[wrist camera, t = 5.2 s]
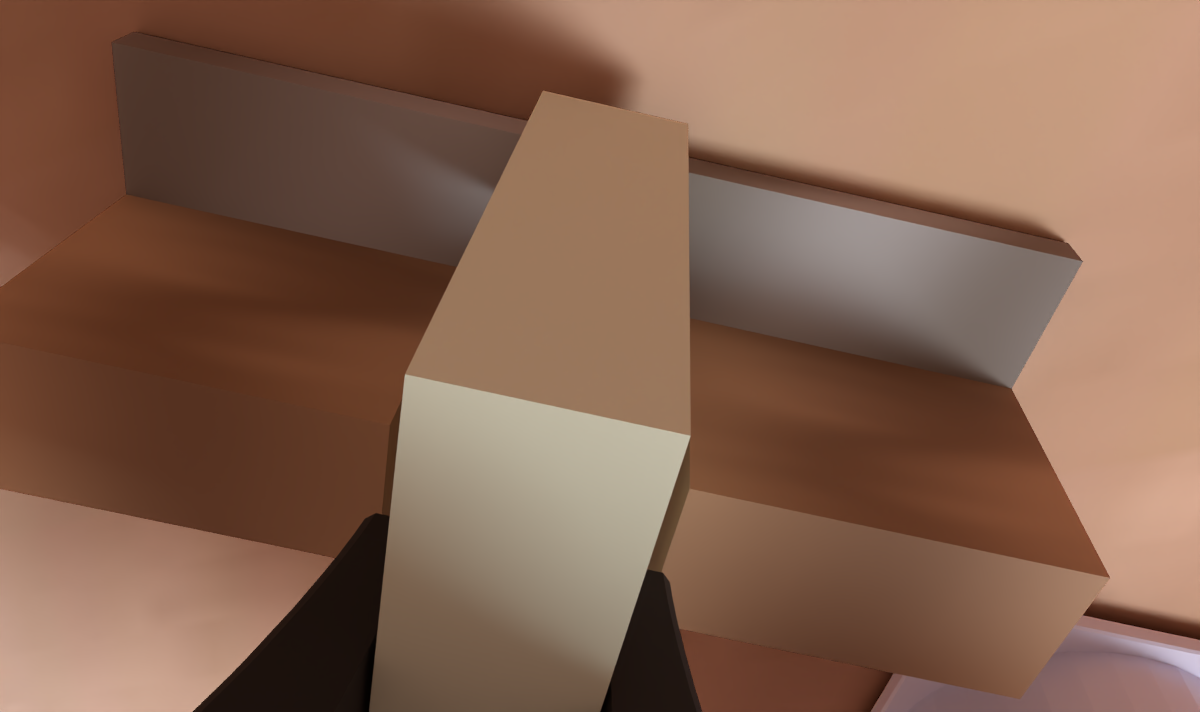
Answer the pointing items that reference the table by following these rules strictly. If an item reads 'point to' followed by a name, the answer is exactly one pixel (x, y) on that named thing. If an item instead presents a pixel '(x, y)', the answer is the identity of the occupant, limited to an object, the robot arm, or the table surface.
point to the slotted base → (411, 296)
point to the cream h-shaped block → (542, 424)
